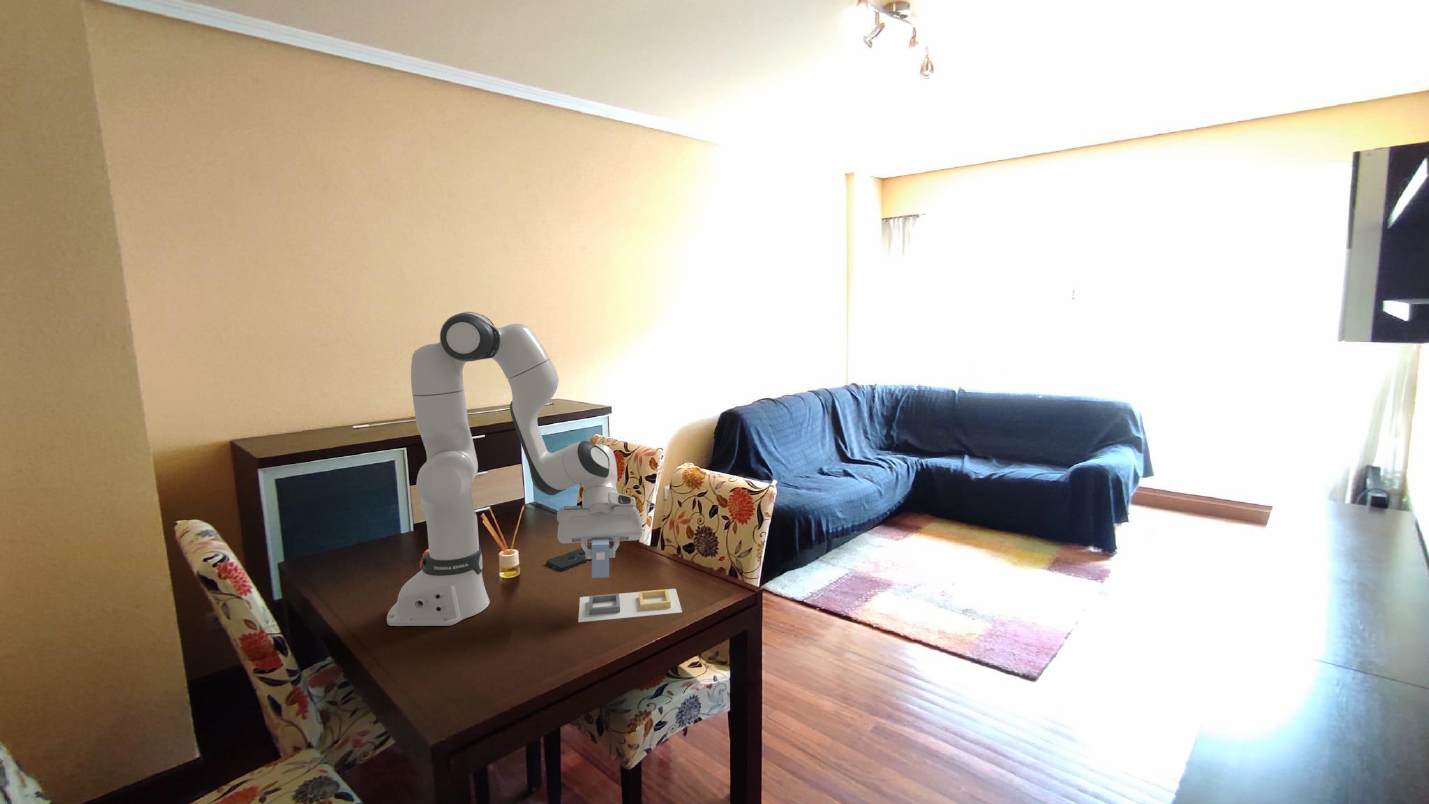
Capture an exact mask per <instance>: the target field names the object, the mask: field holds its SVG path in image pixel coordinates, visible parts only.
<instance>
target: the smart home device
mask: <svg viewBox="0 0 1429 804" xmlns="http://www.w3.org/2000/svg"><path fill="white" fill-rule="evenodd" d="M613 546H614V545H611V544H610V543H609V548H613ZM587 548H588V549H592V544H589V545H587ZM616 552H618V548H617V549H616V551H615V553H616ZM591 560H592V559H586V553H585V551H584V550H583V548H582V547H581V548H578V549H575V550H573V551H569V552H567V553H564V554H561V555H558V556H555V557H552V558H549V559H547V560H545V562H546V566H548V567H551V568H553V569H555V570H557V571H560V572H565V571H568V570H571V569H573V567H574V568H576V567H579V566H581V565H580V564H582V565H584V564H587V563H588V562H587V561H590V562H592V561H591ZM586 562H587V563H586ZM578 565H579V566H578ZM575 566H576V567H575ZM570 568H571V569H570Z"/></svg>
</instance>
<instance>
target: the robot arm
mask: <svg viewBox="0 0 1429 804" xmlns="http://www.w3.org/2000/svg"><path fill="white" fill-rule="evenodd" d="M488 359H492V360H494V361H495V362H496V363H497V364H498V366H499V367H500V369H501V370H502V372H503V374H504V376H505V378H506V379H507V381H508V384H509V386H510V390H511V396H512V397H511V398H512V400H511V401H510V403H509V412H510V415H511V421H512V422H513V423H512V424H513V425H514V428H515V430H516V434H517V436H518V437H517V438H518V439H519V441H520V442H519V443H520V445H521V448H522V450H523V452H524V455H525V458H526V460H527V464H528V468H529V474H530V479H531V481H532V483H533V485H534V487H535V488H536V489H537V490H538V491H540V492H541V493H543V494H546V495H548V496H555V495H557V494H559V493H561V492H564V491H566V490H567V489H569V488H571V487H574V486H577V485H582V486H583V491H582V502H581V505H571V506H570V505H565V506H563V507H561V508H559V510H558V511H557V513H556V520H557V522H558V527H557V541H558V542H559V543H560V544H578V543H579V544H580V545H581V548H583V550H584V551H585V553H586V559H592V549H588V548H587V546H588V543H592V539H609V542H613V545H612V546H613V548H609V559H612V558H613V559H614V558H616V552H617V551H616V549H617V550H618V548H619V546H620V542H624V541H625V542H627V541H639V540H640V539H642V536H643V525H642V524H643V523H642V519H641V514H640V511H639V509H637V504H636V499H635V497H634V496H630V495H626V494H623V493H619V492H618V488H617V483H618V468H617V461H616V456H615V453H614V451H613V449H612V448H610V447H609V446H608V445H605V444H601V443H596V444H595V443H593V442H591V441H588V440H582V441H578V442H575V443H573V444H570V445H568V446H566V447H564V448H562V449H559V450H556V451H554V452H550V451H549V450H547V446H546V443H545V441H544V439H543V435H542V433H541V430H540V428H539V424H538V417H539V415H540V412H541V411H542V410H543V408H544V407H545V406H546V405H547V403H549V401H550V400H551V399H552V398H553V397H554V395H555V394H556V392H557V389H558V387H559V375H558V371H557V369H556V367H555V365H554V363H553V361H552V360H551V358H550V356H549V354H548V352H547V350H546V349H545V348H544V346H543V344H542V343H541V341H540V340H539V339H538V337H537V335H536V334H535V333H534V332H533V331H532V329H531V328H530V327H529V326H527V325H525V324H522V323H511V324H508V325H506V326H501V327H497V326H495V323H493V322H492V320H491V319H490V318H488V316H485V315H484V314H481V313H479V312H478V313H477V312H475V311H463V312H459V313H456V314H454V315H452V316H450V317H449V318H448V319H447V320H445V322H444V323H443V325H442V326H441V328H440V333H439V342H437V343H430V344H424V345H422V346H420V347H418V348H417V349H416V350H414V352H413V353H412V356H411V363H410V365H411V367H410V383H411V394H412V401H413V402H412V403H413V410H414V415H415V416H414V417H415V424H416V430H417V431H418V433H419V434H420V437H421V440H422V443H423V446H424V449H425V453H426V461H425V463H423V464H422V466H421V467H420V468H419V471H418V473H417V478H416V483H415V485H416V486H415V488H416V491H417V494H418V496H419V497H420V502H421V507H422V510H423V513H424V518H425V521H426V528H427V540H428V543H427V544H428V548H427V549H426V550H425V551H424V552H423V554H422V557H421V558H420V561H419V568H420V571H418V572H416V574H415V575H413V576H412V577H411V578H410V579H409V580H407V581H406V582H405V583H404V585H403V586H402V587H401V589H400V590H399V593H398V596H397V601H396V602H395V604H394V605H392V607H391V608H390V609H389V610H388V613H387V616H386V623H387V625H388V626H390V627H391V626H392V627H393V626H394V627H406V626H407V627H409V626H410V627H413V626H414V627H417V626H418V627H424V626H425V627H427V626H429V627H430V626H431V627H434V626H435V627H436V626H437V627H438V626H439V627H440V626H441V627H442V626H445V627H446V626H449V627H450V626H453V625H456V624H457V623H459V622H461V621H463V620H465V619H467V618H470V617H473V616H476V615H477V614H480V613H481V612H483V611H484V610H485V609H486V608H488V606H489V605H490V598H489V596H488V593H487V590H486V588H485V583H484V577H483V555H482V549H481V546H480V544H479V543H480V542H479V527H478V516H477V513H476V509H475V507H474V506H475V505H474V501H473V496H472V483H473V481H474V479H475V478H476V476H477V474H478V469H479V463H478V457H477V453H476V449H475V443H474V440H473V436H472V432H471V428H470V424H469V419H468V418H469V417H468V410H467V403H466V396H465V387H464V379H463V369H464V366H465V364H466V363H467V362H475V361H480V360H488ZM615 551H616V552H615Z"/></svg>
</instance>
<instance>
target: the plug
mask: <svg viewBox="0 0 1429 804" xmlns="http://www.w3.org/2000/svg"><path fill="white" fill-rule="evenodd" d="M609 544H610V541H609V539H592V542H591V545H592V561H591V579H597V578H610V558H609Z"/></svg>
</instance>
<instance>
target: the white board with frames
mask: <svg viewBox="0 0 1429 804" xmlns="http://www.w3.org/2000/svg"><path fill="white" fill-rule="evenodd" d="M678 595H679V594H678V593H677V589H676V588H665V589H654V590H643V591H637V592H636V591H634V592H625V593H624V592H623V593H621V592H620V593H611V594H610V593H609V594H599V595H598V594H597V595H589V596H580V597H579V604H578V605H579V606H578V607H579V608H578V609H579V610H578V619H577V620H578V621H577V623H585V622H597V621H605V620H606V621H607V620H617V619H627V618H639V617H648V616H649V617H650V616H657V615H658V616H659V615H671V614H678V613H679V614H680V613H683V610H682V606H681V603H680V598H679V596H678Z"/></svg>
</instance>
